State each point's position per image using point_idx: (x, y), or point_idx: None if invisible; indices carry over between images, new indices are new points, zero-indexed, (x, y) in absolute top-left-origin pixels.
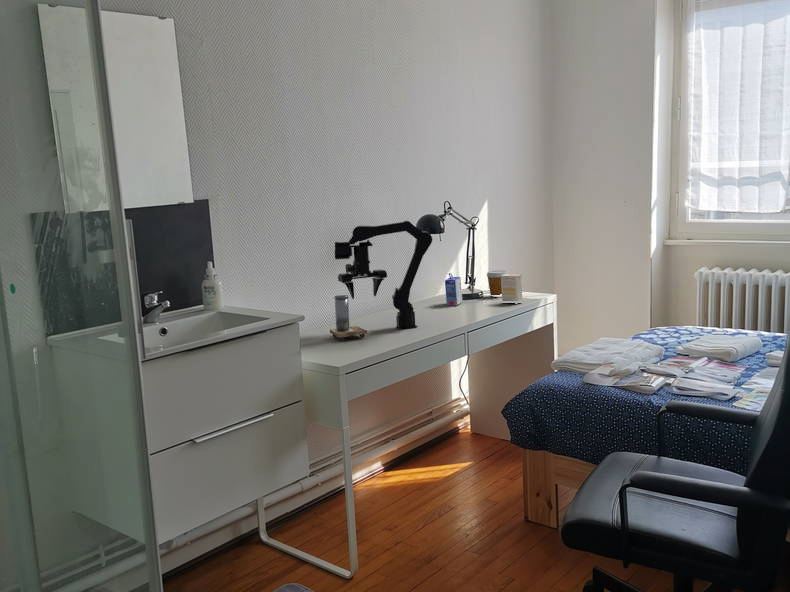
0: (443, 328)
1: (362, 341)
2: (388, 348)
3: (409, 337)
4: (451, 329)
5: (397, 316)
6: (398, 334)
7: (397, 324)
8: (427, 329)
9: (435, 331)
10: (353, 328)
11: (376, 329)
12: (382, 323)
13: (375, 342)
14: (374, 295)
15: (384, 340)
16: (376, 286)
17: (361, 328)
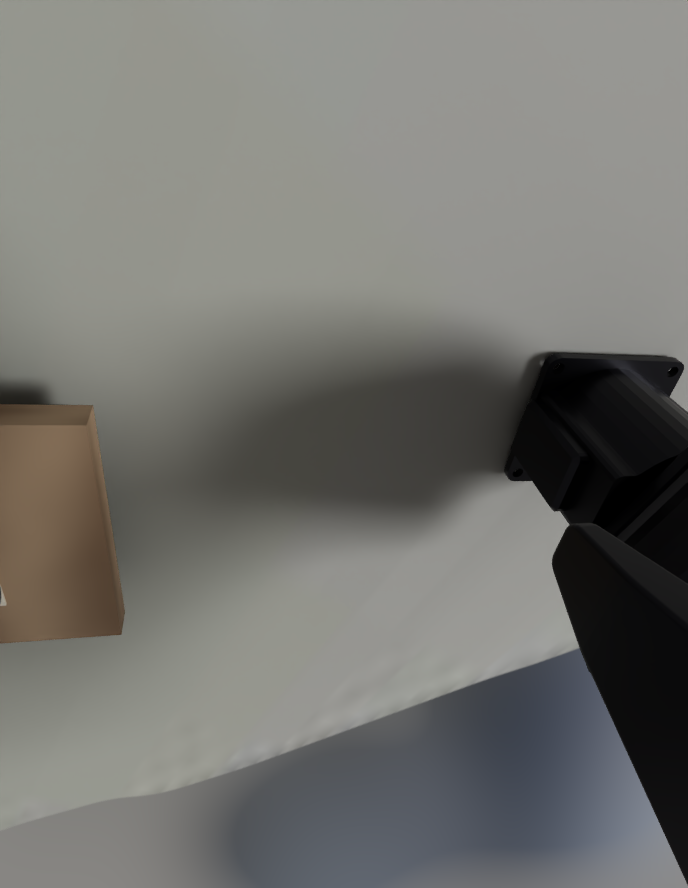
0: None
1: None
2: (153, 780)
3: (372, 660)
4: None
5: (571, 478)
6: (376, 577)
7: (529, 429)
8: None
9: None
10: (17, 516)
11: (359, 318)
12: (633, 7)
13: (139, 680)
14: (563, 565)
15: (212, 663)
16: (674, 855)
17: (100, 553)
